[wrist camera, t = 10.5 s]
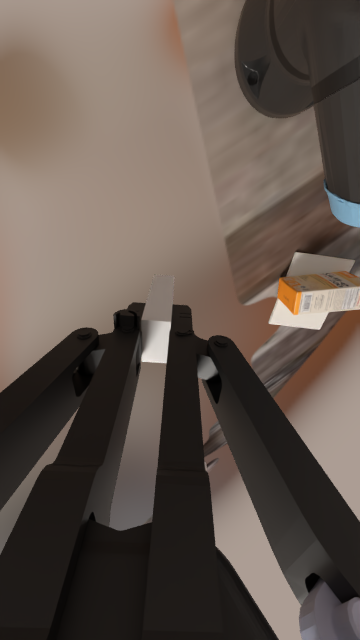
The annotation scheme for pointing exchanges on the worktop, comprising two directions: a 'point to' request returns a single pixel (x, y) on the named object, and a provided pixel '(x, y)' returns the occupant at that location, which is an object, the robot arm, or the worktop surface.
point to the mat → (307, 266)
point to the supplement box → (320, 292)
